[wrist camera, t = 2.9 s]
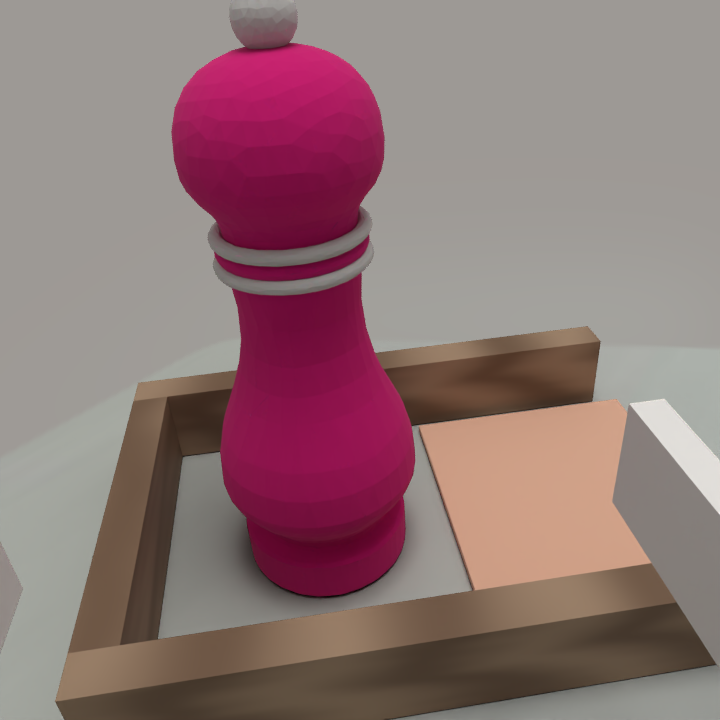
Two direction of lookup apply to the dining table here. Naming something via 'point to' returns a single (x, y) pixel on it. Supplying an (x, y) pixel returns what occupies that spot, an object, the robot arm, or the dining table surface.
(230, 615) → the dining table surface
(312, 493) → the pepper mill
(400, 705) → the shallow wooden tray
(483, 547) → the front pad
